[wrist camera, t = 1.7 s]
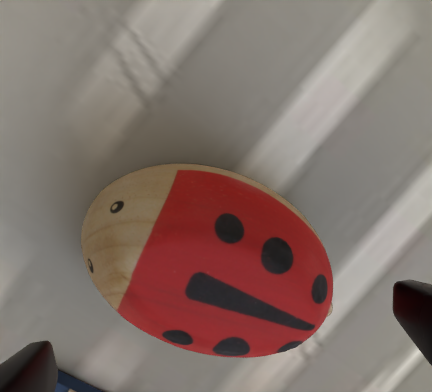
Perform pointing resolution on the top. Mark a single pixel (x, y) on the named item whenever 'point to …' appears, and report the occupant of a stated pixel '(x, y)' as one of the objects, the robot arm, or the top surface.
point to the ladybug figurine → (207, 261)
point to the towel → (72, 384)
